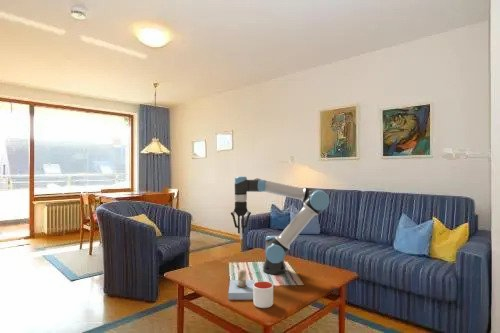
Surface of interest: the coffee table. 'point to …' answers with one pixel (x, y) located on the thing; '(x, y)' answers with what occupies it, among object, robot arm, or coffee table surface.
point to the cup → (263, 294)
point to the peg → (241, 278)
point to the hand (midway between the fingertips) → (240, 238)
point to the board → (240, 290)
